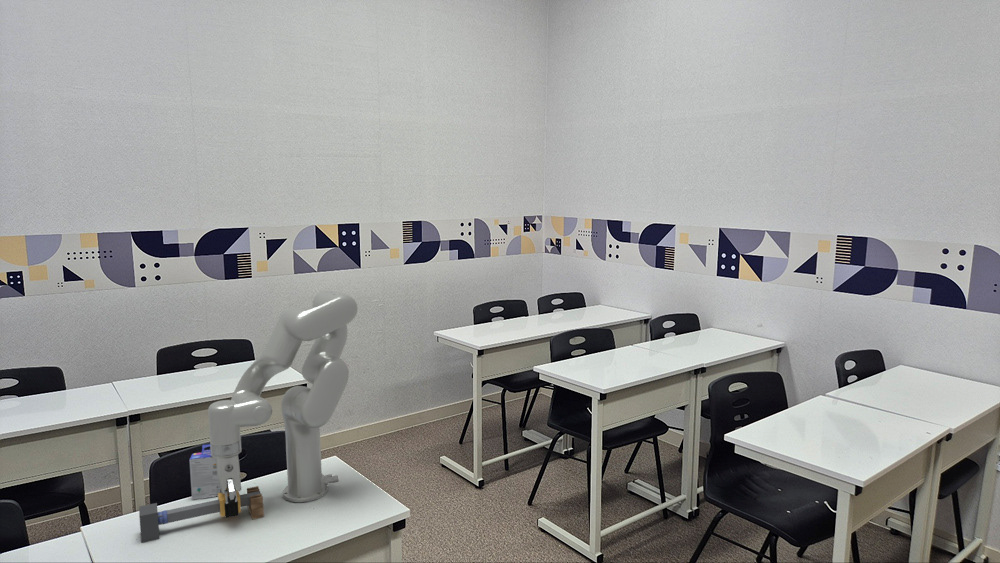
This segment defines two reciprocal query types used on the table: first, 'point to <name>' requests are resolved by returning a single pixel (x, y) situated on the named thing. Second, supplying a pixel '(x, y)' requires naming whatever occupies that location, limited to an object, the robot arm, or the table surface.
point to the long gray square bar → (200, 509)
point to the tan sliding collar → (222, 500)
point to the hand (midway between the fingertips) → (229, 508)
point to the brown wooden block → (256, 504)
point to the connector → (149, 522)
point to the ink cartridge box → (203, 475)
